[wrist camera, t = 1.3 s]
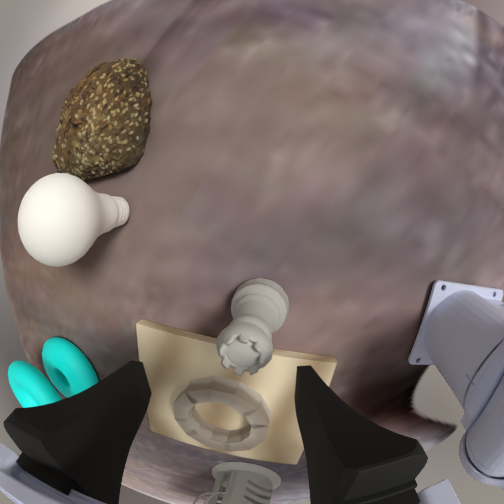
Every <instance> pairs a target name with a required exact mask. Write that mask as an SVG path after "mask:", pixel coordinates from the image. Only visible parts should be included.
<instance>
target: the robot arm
mask: <svg viewBox="0 0 504 504" xmlns="http://www.w3.org/2000/svg"><path fill="white" fill-rule="evenodd" d="M443 285H444V287H443V289H441V287H442V286H443ZM493 293H494V294H493ZM502 297H503V290H501V289H497V288H490V287H483V286H476V285H469V284H462V283H455V282H448V281H442V280H437V281H435V282H434V284H433V287H432V290H431V294H430V298H429V301H428V304H427V308H426V311H425V314H424V317H423V320H422V323H421V326H420V329H419V332H418V335H417V337H416V340H415V343H414V345H413V348H412V350H411V353H410V355H409V358H408V362H409V363H410V364H412V365H433V364H434V365H436V367H437V368H438V370H439V371H440V373H441V374H442V376H443V377H444V379H445V380H446V382H447V383H448V385H449V386H450V388H451V389H452V391H453V393H454V394H455V396H456V397H457V399H458V401H459V402H460V404H461V406H462V407H463V409H464V410H465V413H464V416H463V418H462V419H461V422H462V424H463V426H464V428H465V430H466V432H465V434H464V435H463V437H462V439H461V441H460V445H459V456H460V460H461V463H462V465H463V467H464V469H465V470H466V472H467V473H468V474H469V475H470V476H471V477H472V478H473V479H475V480H476V481H479V482H480V483H483V484H487V485H494V486H498V487H500V488H502V489H504V302H502V301H501V300H502ZM418 358H419V359H418ZM417 359H418V360H417ZM151 394H152V392H151V389H150V386H149V382H148V379H147V375H146V372H145V368H144V365H143V362H137V361H131V362H129V363H127V364H126V365H124V366H123V367H121V368H120V369H118V370H117V371H115V372H114V373H112V374H111V375H109V376H108V377H106V378H105V379H103V380H101V381H100V382H98V383H96V384H95V385H93V386H91V387H89V388H88V389H86V390H84V391H82V392H80V393H78V394H76V395H73V396H71V397H68V398H66V399H63V400H60V401H57V402H54V403H50V404H46V405H41V406H35V407H27V408H16V409H15V410H14V411H13V412H12V413H11V414H10V415H9V417H8V418H7V419H6V420H5V421H4V427H5V429H6V431H7V433H8V434H9V436H10V437H11V438H12V440H13V441H14V442H15V444H16V445H17V446H18V448H19V449H20V450H21V451H22V454H21V455H20V456H19V455H18V454H17V453H16V452H15V451H13V450H12V449H11V448H9V447H8V446H6V445H5V444H4V443H1V444H0V490H1V491H2V492H3V493H4V494H5V495H6V496H7V497H9V498H10V499H11V500H12V501H13V502H15V503H16V504H118V503H119V494H120V487H121V482H122V476H123V472H124V468H125V464H126V460H127V456H128V453H129V450H130V447H131V444H132V442H133V439H134V437H135V435H136V433H137V431H138V429H139V426H140V424H141V422H142V420H143V418H144V416H145V413H146V411H147V408H148V405H149V402H150V398H151ZM294 400H295V410H296V417H297V421H298V425H299V430H300V434H301V438H302V442H303V446H304V450H305V454H306V460H307V468H308V477H309V488H310V501H311V504H460V502H459V500H458V498H457V496H456V494H455V492H454V490H453V488H452V486H451V484H450V482H449V480H448V479H444V480H442V481H440V482H438V483H436V484H434V485H432V486H430V487H427V488H425V489H423V490H422V491H420V492H419V493H416V490H415V488H416V487H417V483H416V481H415V478H416V477H417V475H418V474H419V473H420V472H421V470H422V469H423V468H424V466H425V464H426V463H427V459H428V457H427V455H426V453H425V451H424V449H423V448H422V446H421V445H420V443H419V442H418V440H416V439H413V438H410V437H406V436H403V435H400V434H397V433H394V432H392V431H390V430H387V429H385V428H383V427H381V426H379V425H377V424H375V423H373V422H371V421H370V420H368V419H366V418H365V417H363V416H361V415H360V414H359V413H357V412H356V411H354V410H353V409H352V408H351V407H349V406H348V405H347V404H346V403H345V402H344V401H342V400H341V399H340V398H339V397H338V396H337V395H336V394H335V393H334V392H333V391H332V390H331V389H330V388H329V387H328V386H327V384H326V383H325V382H324V381H323V380H322V379H321V377H320V376H319V375H318V374H317V372H316V371H315V370H314V369H313V367H312V366H311V365H307V366H297V372H296V385H295V396H294Z"/></svg>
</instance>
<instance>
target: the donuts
mask: <svg viewBox="0 0 504 504" xmlns="http://www.w3.org/2000/svg"><path fill="white" fill-rule="evenodd" d="M42 360H43V365H44V368H45V370H46V373H47V375H48V377H49V378H50V380H51V381H52V383H53V384H54V386H55V387H56V388H57V389H58V390H59V391H60V392H61V393H62V394H63V395H64V396H66V397H67V398H68V397H71V396H73V395H76V394H78V393H80V392H82V391H84V390H86V389H88V388H89V387H91V386H93V385H95V384H96V383H98V382H99V381H98V377H97V375H96V372H95V370H94V368H93V367H92V365H91V363H90V362H89V360H88V359H87V358H86V356H85V355H84V354H83V353H82V352H81V351H80V350H79V349H78V348H77V347H76V346H75V345H74V344H73V343H71V342H69V341H68V340H66V339H64V338H60V337H53V338H50V339H49V340H47V341H46V342H45V344H44V346H43V350H42ZM8 379H9V382H10V385H11V387H12V390H13V392H14V394H15V396H16V397H17V399H18V401H19V402H20V404H21V405H22V407H23V408H27V407H35V406H41V405H46V404H50V403H54V402H57V401H60V400H62V399H61V397H60V396H59V394H58V392H57V391H56V389H55V388H54V387H53V385H52V384H51V383H50V382H49V380H48V379H47V378H46V377H45V376H44V375H43V374H42V373H41V372H40V371H39V370H38V369H37V368H35V367H34V366H33V365H31V364H29V363H27V362H25V361H20V360H19V361H14V362H13V363H12V364H11V365H10V366H9V369H8Z"/></svg>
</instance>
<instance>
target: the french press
mask: <svg viewBox="0 0 504 504" xmlns="http://www.w3.org/2000/svg"><path fill="white" fill-rule="evenodd" d="M212 476H213V477H214V478H215V480H216V481H215V484H214V487H213V489H212V492H211V493H209V492H207V493H204V494H201V495H200V496H199V497H197V498H196V500H195V501H194V502H193V504H196V502H197V500H198V499H199V498H200V497H202V496H203V495H206V494H211V495H210V497H209V498H208V499H207V500H206V501H205V502H204V504H242V503H243V504H270V501H271V500H270V499H271V495H272V493H271V492H272V490H274V489H276V488H277V487H278V486H280V484H281V479H280V477H279V476H278V474H277V473H275V472H273V471H271V470H270V469H268V468H265V467H262V466H259V465H255V464H250V463H243V462H224V463H221V464H218V465H215V466H214V468H213V469H212ZM219 494H224V495H223V497H219V496H218V495H219ZM268 496H269V497H268ZM243 497H245V498H243ZM217 500H222V501H221V503H216V501H217Z"/></svg>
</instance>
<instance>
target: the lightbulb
mask: <svg viewBox="0 0 504 504" xmlns="http://www.w3.org/2000/svg"><path fill="white" fill-rule="evenodd" d="M129 212H130V210H129V205H128V203H127V201H126V200H125V199H124V198H122V197H115V196H110V195H108V194H102V193H97V192H95V191H93V190H92V189H91V188H90V186H88V185H87V184H86V183H85V182H84V181H82V180H81V179H80V178H78V177H76V176H73V175H70V174H68V173H54V174H51V175H48V176H45V177H43V178H41V179H39V180H38V181H37V182H36V183H34V184H33V185H32V186H31V187H30V189H29V190H28V191H27V193H26V194H25V196H24V198H23V200H22V202H21V205H20V209H19V213H18V230H19V235H20V238H21V241H22V243H23V245H24V247H25V248H26V250H27V252H28V253H29V254H30V255H31V256H32V257H33V258H35V259H36V260H37V261H39V262H41V263H43V264H45V265H49V266H65V265H69V264H71V263H74V262H76V261H77V260H78V259H80V258H81V257H82V256H84V255H85V254H86V253H87V251H88V250H89V249H90V247H91V246H92V245H93V244H94V242H95V240H96V239H97V237H98V236H100V235H101V234H103V233H106V232H109V231H110V230H112V229H113V228H115V227H118V226H121V225H123V224H125V223H126V221H127V220H128V218H129Z"/></svg>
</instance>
